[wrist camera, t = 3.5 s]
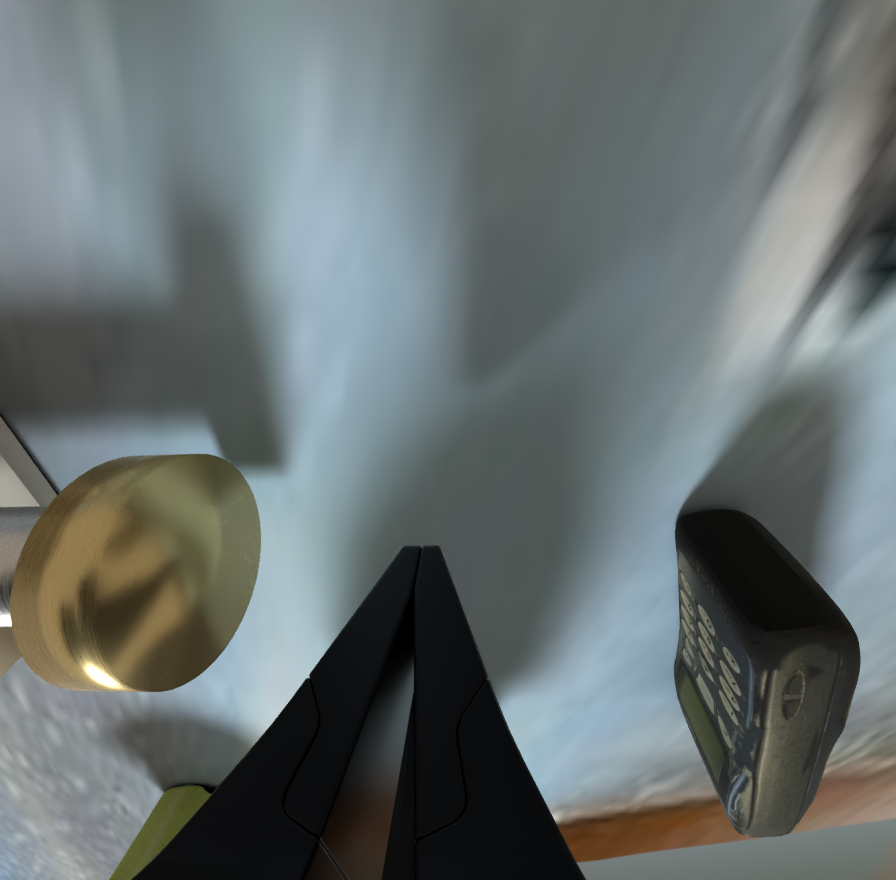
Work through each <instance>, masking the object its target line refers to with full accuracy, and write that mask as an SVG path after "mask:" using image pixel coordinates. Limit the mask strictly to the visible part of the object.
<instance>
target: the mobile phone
mask: <svg viewBox="0 0 896 880" xmlns="http://www.w3.org/2000/svg"><path fill="white" fill-rule="evenodd" d="M675 541H676V550H677V561H678V586H679V611H680V632H679V644H678V651H677V659H676V663H675V666H674V678H675V685H676V691H677V696H678V700H679V703H680V706H681V709H682V712H683V714H684V717H685V719H686V722H687V724H688V727H689V729H690V732H691V734H692V737H693V739H694V741H695V744H696V746H697V748H698V751H699V753H700V755H701V758H702V760H703V762H704V765H705V767H706V769H707V772H708V774H709V776H710V778H711V781H712V783H713V785H714V788H715V790H716V792H717V795H718V797H719V799H720V801H721V804H722V806H723V808H724V810H725V812H726V815H727V817H728V818H729V820H730V822H731V824H732V825H733V827H734V828H735V830H736V831H737V832H739V833H740V834H742V835H744V836H749V837H774V836H782V835H785V834H789V833H790V832H791V831H792V830H793V829H794V828H795V826H796V824H798V823H799V822H800V820H801V818H802V817H803V815H804V814H805V812H806V811H807V809H808V808H809V807H810V805H811V804H812V802H813V800H814V798H815V796H816V795H817V792H818V789H819V786H820V783H821V780H822V776H823V773H824V770H825V767H826V763H827V761H828V758H829V756H830V753H831V751H832V749H833V747H834V745H835V743H836V741H837V740H838V738H839V737H840V735H841V733H842V732H843V730H844V727H845V723H846V720H847V717H848V713H849V709H850V705H851V702H852V698H853V695H854V691H855V688H856V685H857V681H858V677H859V671H860V647H859V642H858V638H857V635H856V633H855V631H854V629H853V627H852V625H851V624H850V622H849V621H848V619H847V618H846V617H845V615H844V614H843V612H842V611H841V610H840V608H839V607H838V606H837V605H836V604H835V602H834V601H833V600H832V599H831V598H830V597H829V595H828V594H827V593H826V592H825V591H824V590H823V589H822V587H821V586H820V585H819V584H818V583H817V582H816V581H815V580H814V578H813V577H812V576H811V575H810V574H809V573H808V572H807V571H806V570H805V569H804V567H803V566H802V565H801V564H800V563H799V562H798V561H797V560H796V559H795V558H794V557H793V556H792V555H791V554H790V553H789V552H788V551H787V550H786V549H785V548H784V546H783V545H782V544H781V543H780V542H779V541H778V540H777V539H776V538H775V537H774V536H773V535H772V534H771V533H770V532H769V531H768V530H767V529H766V528H765V527H764V526H763V525H762V524H761V523H759V522H758V521H757V520H756V519H754V518H752V517H751V516H749V515H747V514H745V513H742V512H740V511H735V510H709V511H703V512H698V513H693V514H689V515H685V516H683V517H681V519H680V521H679V524H678V526H677V528H676V530H675Z"/></svg>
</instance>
